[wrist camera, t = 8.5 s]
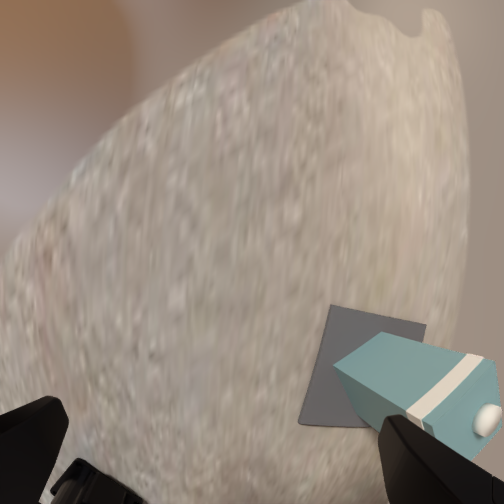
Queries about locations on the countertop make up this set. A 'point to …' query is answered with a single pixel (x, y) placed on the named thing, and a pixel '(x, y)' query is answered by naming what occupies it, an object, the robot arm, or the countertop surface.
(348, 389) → the carton
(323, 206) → the countertop surface
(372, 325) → the mat
